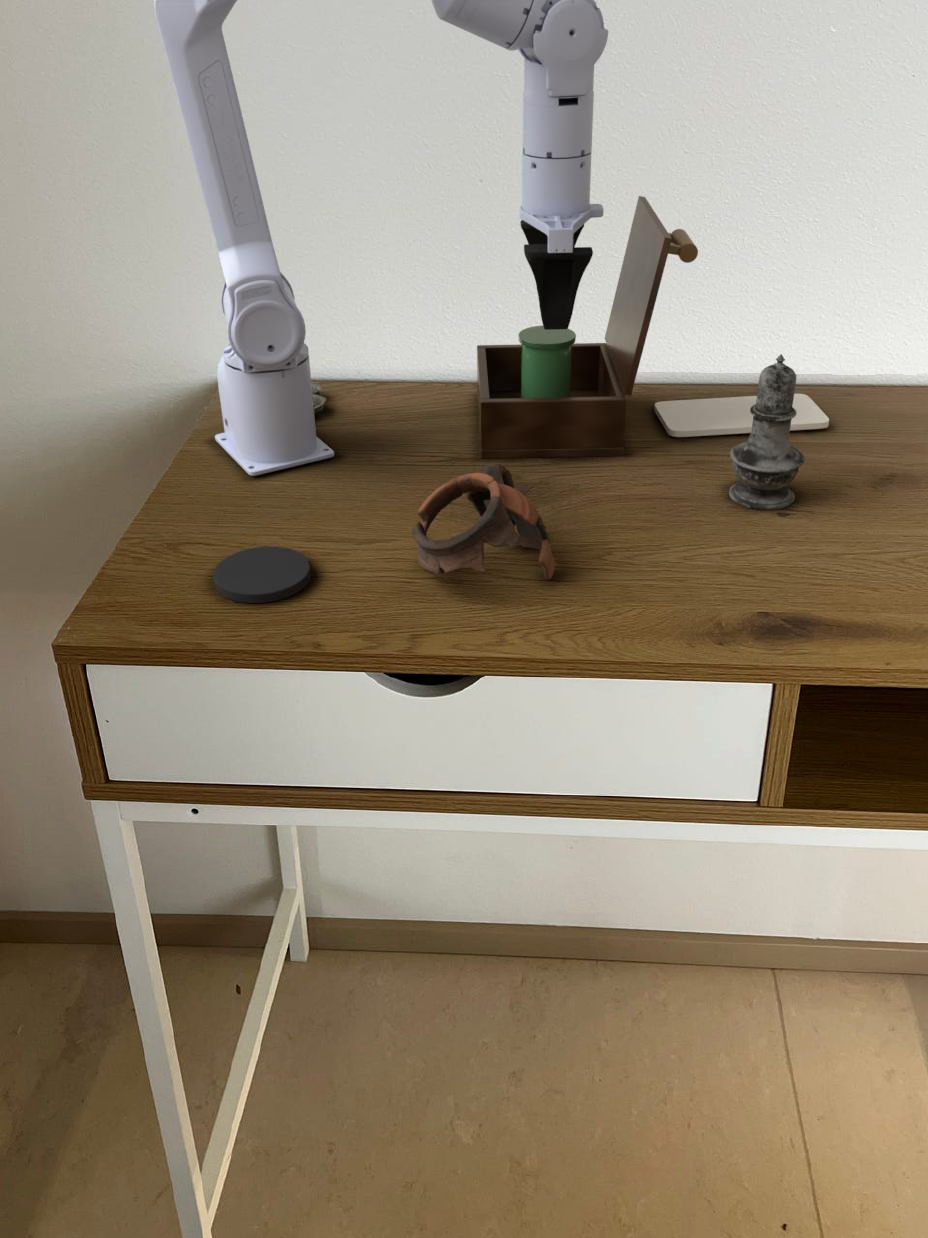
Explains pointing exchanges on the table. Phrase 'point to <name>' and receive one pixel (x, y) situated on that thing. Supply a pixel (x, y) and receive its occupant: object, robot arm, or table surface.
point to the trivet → (262, 574)
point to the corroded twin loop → (317, 398)
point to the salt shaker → (768, 444)
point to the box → (550, 407)
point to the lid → (641, 288)
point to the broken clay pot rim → (482, 523)
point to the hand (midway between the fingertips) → (553, 314)
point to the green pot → (546, 362)
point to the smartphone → (729, 415)
